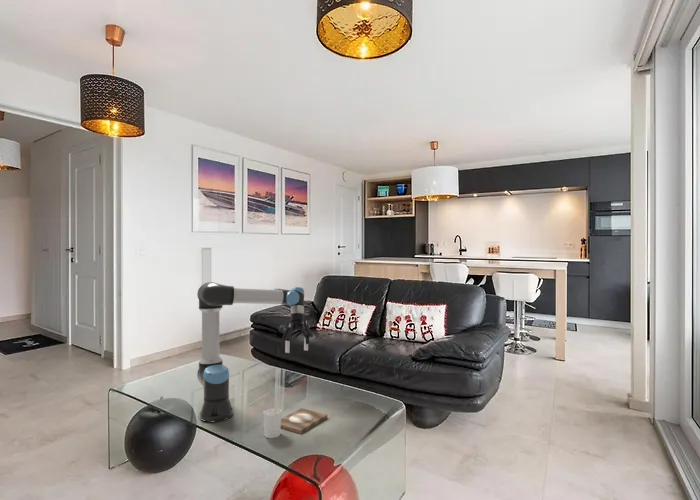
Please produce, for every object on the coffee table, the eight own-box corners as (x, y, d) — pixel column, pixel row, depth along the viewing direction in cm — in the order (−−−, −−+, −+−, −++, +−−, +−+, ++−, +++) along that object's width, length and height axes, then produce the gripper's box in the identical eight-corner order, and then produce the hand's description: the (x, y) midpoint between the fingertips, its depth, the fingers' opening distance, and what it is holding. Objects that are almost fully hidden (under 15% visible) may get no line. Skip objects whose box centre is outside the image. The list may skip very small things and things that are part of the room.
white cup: (282, 430, 169) (282, 407, 169) (280, 438, 161) (279, 415, 162) (264, 431, 169) (264, 408, 169) (261, 439, 161) (261, 415, 161)
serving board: (300, 433, 166) (300, 430, 166) (273, 425, 174) (273, 422, 174) (327, 417, 183) (327, 414, 183) (301, 411, 191) (301, 407, 191)
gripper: (318, 311, 218) (318, 349, 210) (285, 317, 230) (284, 354, 222) (310, 309, 212) (310, 348, 204) (276, 315, 224) (275, 352, 216)
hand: (296, 351), depth 213 cm, fingers open, 13 cm apart
